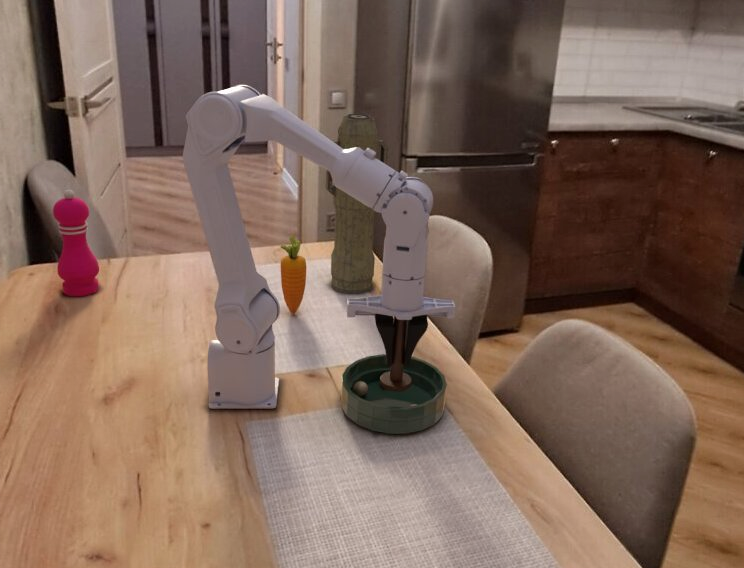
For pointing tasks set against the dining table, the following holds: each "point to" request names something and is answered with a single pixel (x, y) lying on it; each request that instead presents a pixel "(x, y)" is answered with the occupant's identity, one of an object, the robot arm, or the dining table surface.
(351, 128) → the thermos
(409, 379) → the stick
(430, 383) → the bowl
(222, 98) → the robot arm
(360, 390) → the bead
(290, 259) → the carrot
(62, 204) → the pepper mill
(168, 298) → the dining table surface
